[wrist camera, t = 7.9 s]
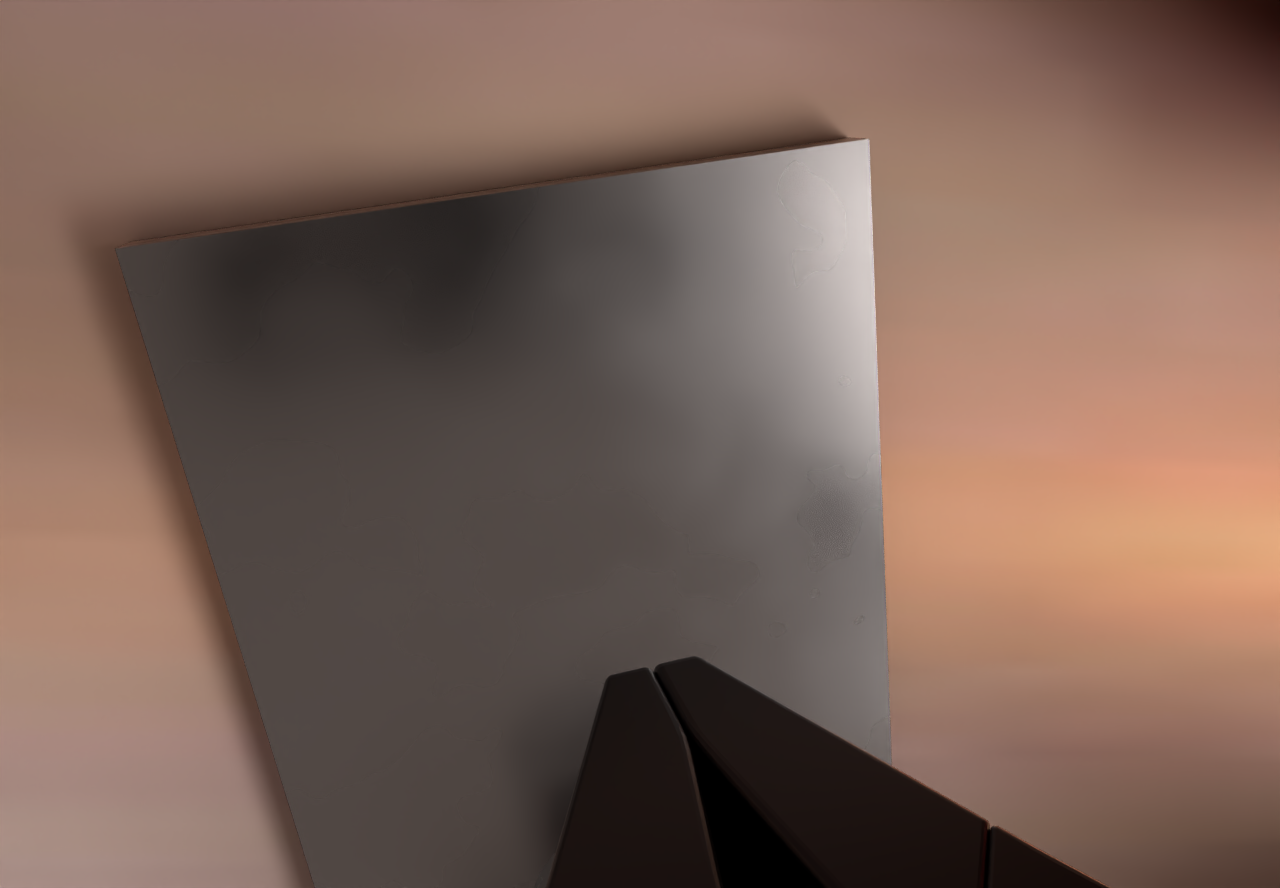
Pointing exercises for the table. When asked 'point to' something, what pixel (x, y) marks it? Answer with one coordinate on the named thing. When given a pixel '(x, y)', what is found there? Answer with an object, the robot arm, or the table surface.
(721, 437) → the metal cylinder assembly
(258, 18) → the table surface
